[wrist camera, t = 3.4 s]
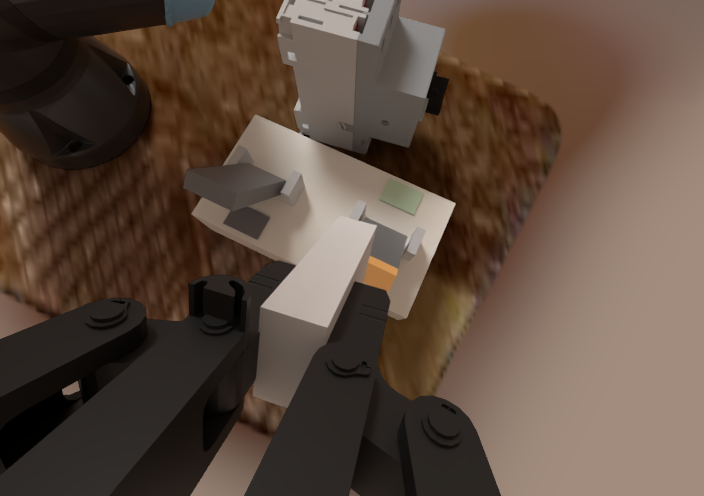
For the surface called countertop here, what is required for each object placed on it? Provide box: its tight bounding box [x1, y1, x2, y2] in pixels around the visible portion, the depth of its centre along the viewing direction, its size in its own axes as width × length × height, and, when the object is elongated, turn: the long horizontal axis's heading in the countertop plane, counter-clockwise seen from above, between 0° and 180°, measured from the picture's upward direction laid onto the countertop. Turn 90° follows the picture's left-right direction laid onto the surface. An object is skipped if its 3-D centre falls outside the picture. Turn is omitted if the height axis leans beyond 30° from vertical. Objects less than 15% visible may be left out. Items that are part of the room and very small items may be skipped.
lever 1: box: [183, 163, 287, 211], centre depth 27 cm, size 4×1×9 cm
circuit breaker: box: [276, 0, 449, 155], centre depth 32 cm, size 8×14×15 cm, turn 73°
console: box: [191, 114, 456, 320], centre depth 32 cm, size 22×12×8 cm, turn 64°
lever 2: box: [362, 217, 408, 294], centre depth 25 cm, size 4×1×10 cm
